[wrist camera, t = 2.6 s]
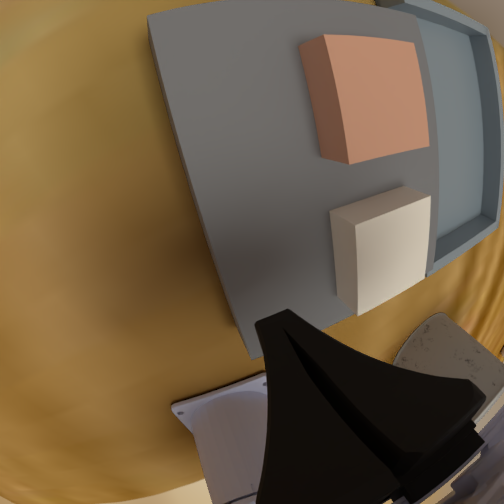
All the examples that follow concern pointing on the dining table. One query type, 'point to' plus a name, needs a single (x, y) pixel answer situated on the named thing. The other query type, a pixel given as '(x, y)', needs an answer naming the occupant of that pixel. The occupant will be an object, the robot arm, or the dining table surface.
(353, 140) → the terracotta tile
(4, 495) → the dining table surface
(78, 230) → the dining table surface
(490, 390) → the grey canister
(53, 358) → the dining table surface
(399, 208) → the cream tile
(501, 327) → the dining table surface
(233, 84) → the plate
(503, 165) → the tray
